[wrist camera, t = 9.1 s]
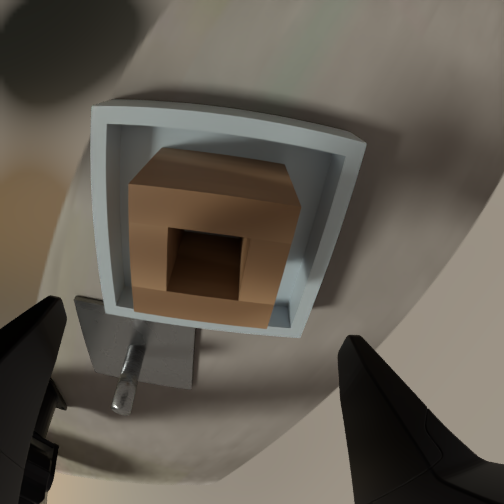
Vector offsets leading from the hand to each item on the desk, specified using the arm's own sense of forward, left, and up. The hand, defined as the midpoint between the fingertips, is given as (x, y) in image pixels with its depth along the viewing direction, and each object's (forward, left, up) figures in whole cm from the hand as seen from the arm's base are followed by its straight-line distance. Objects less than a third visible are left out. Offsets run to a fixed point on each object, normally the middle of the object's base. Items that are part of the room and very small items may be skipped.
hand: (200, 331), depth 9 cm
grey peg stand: (-13, +5, -9) cm, 17 cm away
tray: (-1, 0, -9) cm, 9 cm away
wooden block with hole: (-1, 0, -9) cm, 9 cm away
